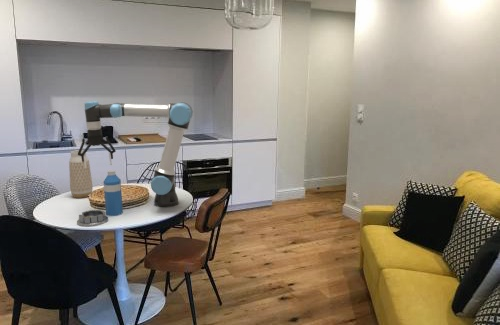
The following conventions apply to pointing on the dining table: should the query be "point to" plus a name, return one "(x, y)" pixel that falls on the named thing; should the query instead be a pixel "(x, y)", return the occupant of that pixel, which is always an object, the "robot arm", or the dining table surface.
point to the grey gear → (92, 218)
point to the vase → (80, 176)
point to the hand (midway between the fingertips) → (98, 166)
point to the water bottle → (113, 194)
